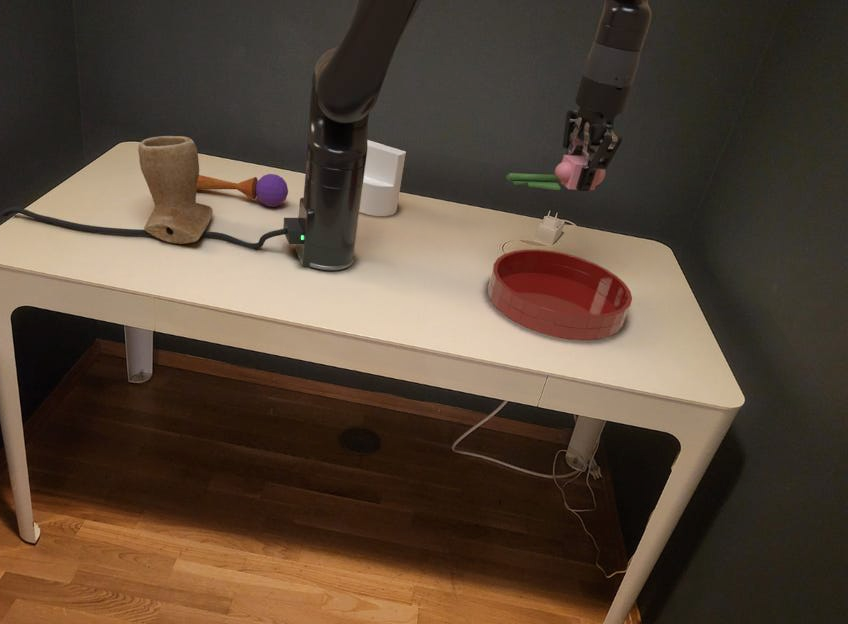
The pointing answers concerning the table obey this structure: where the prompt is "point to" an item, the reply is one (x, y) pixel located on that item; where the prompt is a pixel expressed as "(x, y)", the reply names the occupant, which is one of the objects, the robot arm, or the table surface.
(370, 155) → the base with upright slab
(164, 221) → the stone cup
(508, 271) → the bowl
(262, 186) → the kendama
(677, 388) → the table surface
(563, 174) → the tulip
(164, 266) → the table surface
